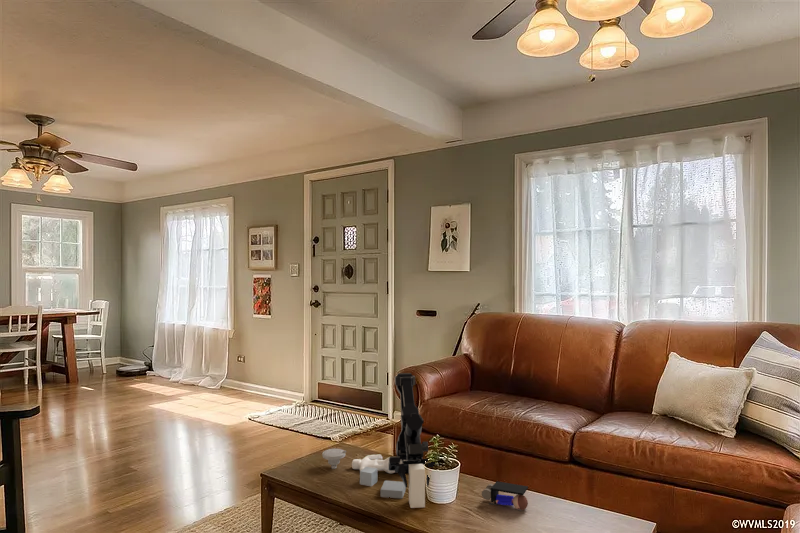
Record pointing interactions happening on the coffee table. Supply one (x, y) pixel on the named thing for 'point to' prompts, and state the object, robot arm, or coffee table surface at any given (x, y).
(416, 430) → the robot arm
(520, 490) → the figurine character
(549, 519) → the coffee table surface
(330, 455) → the showerhead
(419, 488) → the pillar
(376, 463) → the figure
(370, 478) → the cube
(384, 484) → the plinth
